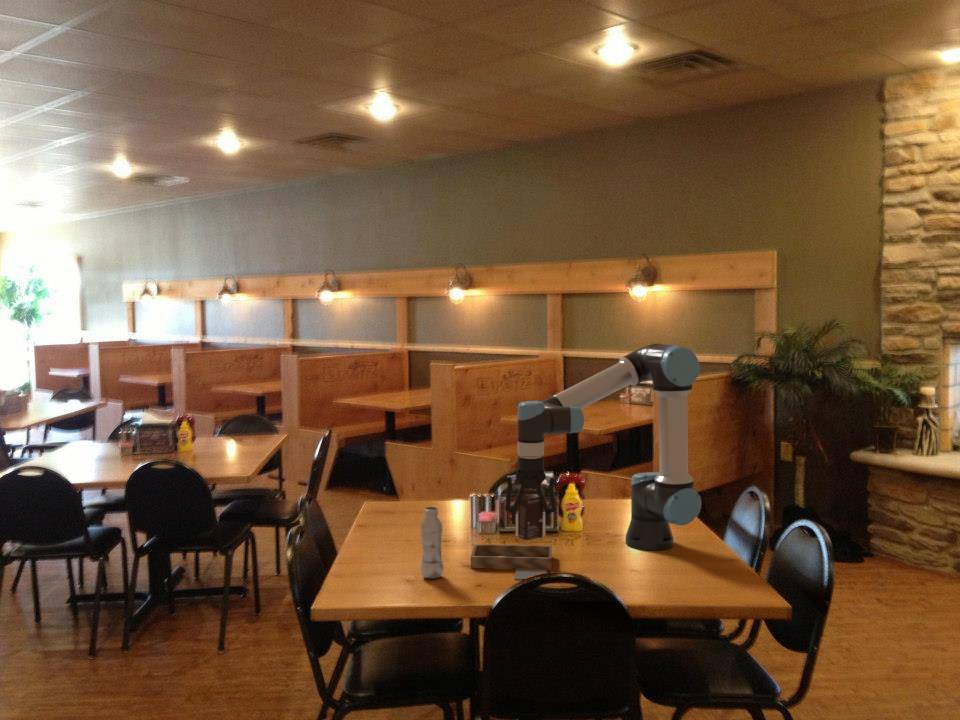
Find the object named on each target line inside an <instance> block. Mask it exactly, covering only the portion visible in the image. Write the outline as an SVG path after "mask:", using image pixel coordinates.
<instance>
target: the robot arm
mask: <svg viewBox="0 0 960 720" xmlns="http://www.w3.org/2000/svg"><path fill="white" fill-rule="evenodd" d="M699 374H700V361H699V359H698V356H697V355H696V354H695V353H694V352H693V351H692V349H690V348H688V347H685V346H682V345H679V344H678V345H677V344H664V343H651V344H650V343H649V344H647V345H644V346H642V347H640V348H638V349H636V350H634V351H632V352H630V353H628V354H626V355H623V356H622V357H620V358H619V360H618V363H616V364H613V365H611V366H609V367H607V368H605V369H604V370H602V371H599V372H598V373H595V374H594V375H592V376H590V377H588V378H585V379H584V380H582V381H580V382H578V383H576V384H574V385H572V386H570V387H568V388H567V389H564V390H562V391H560V392H559V393H556V394H554V395H552V396H550V397H548V398H546V399H544V400H541V399H540V400H527V401H521V402H520V403H519V404H518V406H517V416H516V420H517V455H518V456H517V472H516V474H513V475H509V474H508V475H507V477H506V482H507V492H506V499H505V511H506V512H509V513H511V525H515V537H518V511H517V509H518V507H519V506H518V505H519V502H520V500H521V497H522V496H524V495H523V494H524V492H525V490H530V489H532V490H536V492H537V495H539V497H540V500H541V503H542V505H543V537H542V538H546V526H549V525H550V515H551V513H555V512H556V511H557V506H556V498H555V488H554V484H555V480H556V479H555V476H554V475H547V474H546V473H545V457H544V455H545V435H556V434H557V435H558V434H574V433H579V432H580V431H582V430H583V428H584V425H585V415H584V412H583V411H582V410H583V409H585V408H586V407H588V406H590V405H593V404H594V403H596V402H598V401H600V400H602V399H604V398H606V397H608V396H610V395H611V394H614V393H615V392H617V391H619V390H622V389H624V388H626V387H628V386H629V385H630V386H637V385H638V384H640V383H644V382H651V381H652V391H653V392H654V393H655V394H657V395H656V396H657V398H658V399H657V400H658V401H657V402H658V404H657V405H658V407H657V408H658V409H657V410H658V455H659V457H658V465H659V469H658V470H659V471H651V472H650V471H647V472H638V473H635V474H633V475H632V477H631V481H630V487H631V489H630V490H631V491H630V492H631V493H630V495H631V497H630V498H631V499H630V500H631V501H630V503H631V506H630V507H631V510H630V513H631V514H630V515H631V516H630V518H631V519H630V521H629V525H628V527H627V531H626V533H625V544H626V546H628V547H630V548H633V549H636V550H644V551H665V550H669V549H671V548H673V547H674V541H675V540H674V536H673V532H672V528H671V526H670V524H672V525H673V524H674V525H676V526H685V525H688V524H690V523H692V522H693V521H695V519H696V518H697V517H698V516H699V514H700V512H701V510H702V498H701V495H700V494H699V493H698V492H697V491H696V490H695V489H694V485H695V484H694V483H695V481H694V477H692V476H691V475H690V474H689V428H688V426H689V423H688V421H689V420H688V418H689V417H688V416H689V415H688V395H689V394H690V393H691V392H692V391H693V383H695V382H696V380H697V378H698V377H699ZM516 480H517V482H518V483H519V485H520V486H519V490H518V493H517V495H516V498H515V500H514V503H513V506H511V501H512V493H513V484H514V483H515V482H516ZM544 481H546V483H547V485H548V490H549V499H550V507H549V505H548V502H547V500H546V497H545V494H544V491H543V487H542V486H541V485H542V484H543V483H544ZM518 538H519V537H518Z"/></svg>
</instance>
